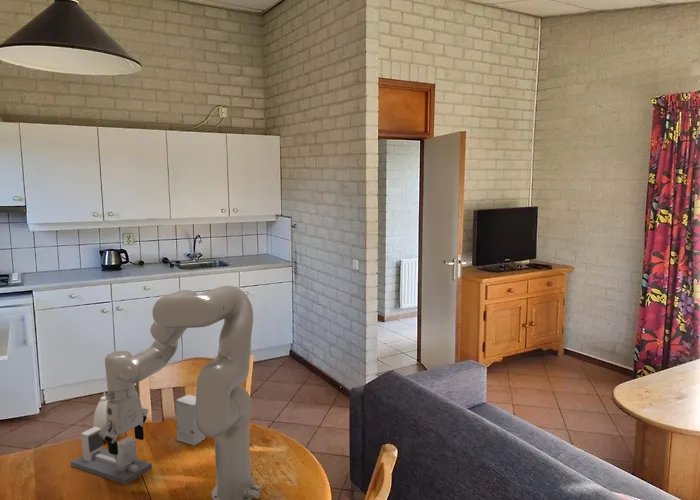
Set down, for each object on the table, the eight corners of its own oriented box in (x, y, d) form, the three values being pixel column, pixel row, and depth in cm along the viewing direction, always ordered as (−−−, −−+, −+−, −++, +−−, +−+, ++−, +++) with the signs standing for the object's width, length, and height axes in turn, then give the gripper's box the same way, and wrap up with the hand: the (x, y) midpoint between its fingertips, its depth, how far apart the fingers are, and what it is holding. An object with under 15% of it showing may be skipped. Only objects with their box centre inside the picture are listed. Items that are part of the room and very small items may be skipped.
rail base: (151, 467, 164) (149, 436, 163) (125, 484, 155) (123, 452, 154) (98, 451, 174) (96, 421, 173) (71, 466, 165) (68, 435, 164)
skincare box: (176, 440, 181) (174, 399, 179) (189, 433, 186) (187, 393, 184) (195, 446, 177) (192, 404, 175) (207, 438, 182) (205, 397, 180)
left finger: (137, 464, 163) (135, 438, 162) (124, 473, 159) (121, 445, 157) (128, 462, 165) (126, 435, 163) (115, 470, 160) (113, 443, 159)
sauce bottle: (111, 445, 178) (107, 395, 175) (90, 443, 179) (86, 393, 177) (124, 434, 186) (121, 385, 183) (104, 432, 187) (100, 384, 184)
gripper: (106, 406, 149) (111, 462, 151) (153, 384, 164) (157, 435, 166) (88, 402, 152) (93, 457, 154) (135, 380, 167) (140, 431, 170)
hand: (127, 446), depth 160 cm, fingers open, 9 cm apart
